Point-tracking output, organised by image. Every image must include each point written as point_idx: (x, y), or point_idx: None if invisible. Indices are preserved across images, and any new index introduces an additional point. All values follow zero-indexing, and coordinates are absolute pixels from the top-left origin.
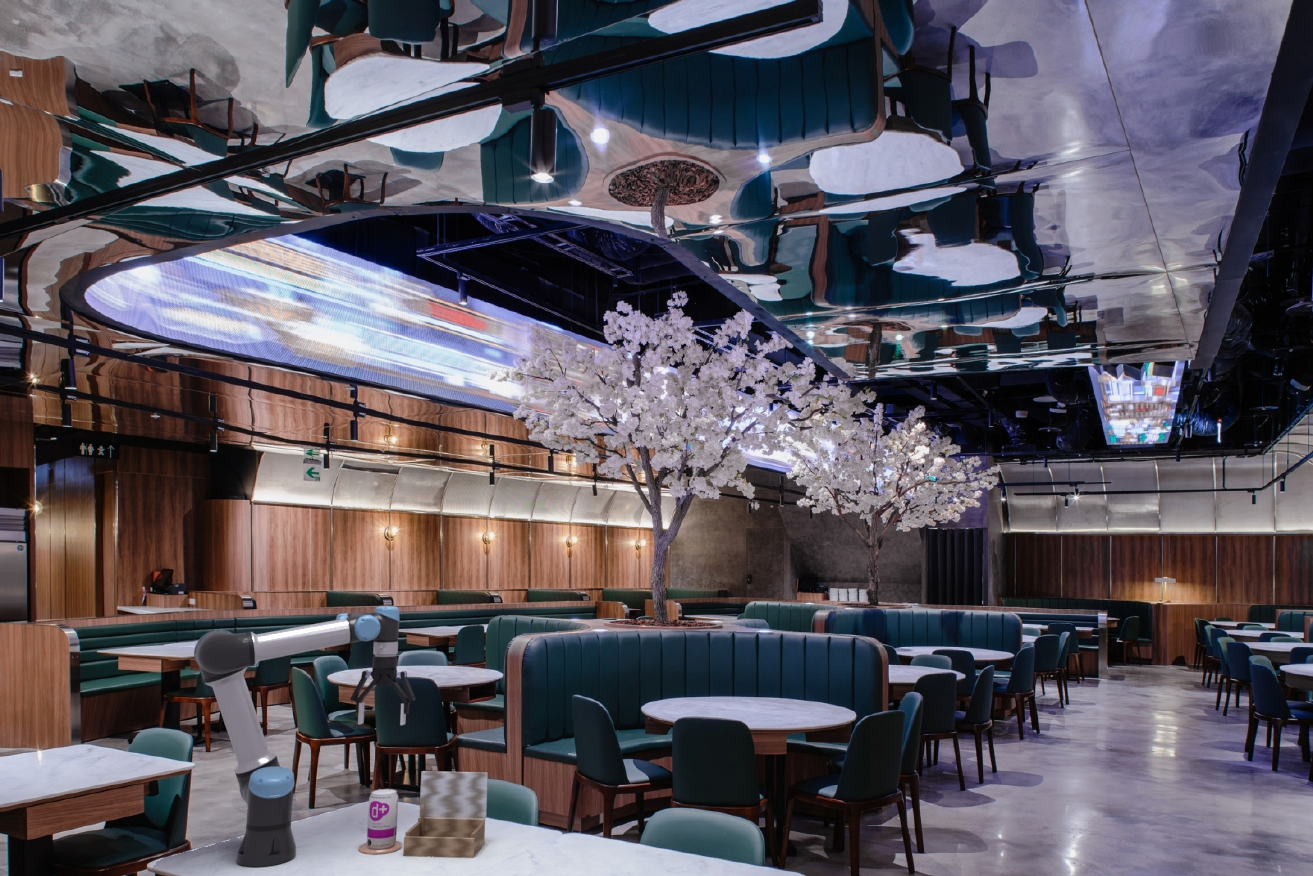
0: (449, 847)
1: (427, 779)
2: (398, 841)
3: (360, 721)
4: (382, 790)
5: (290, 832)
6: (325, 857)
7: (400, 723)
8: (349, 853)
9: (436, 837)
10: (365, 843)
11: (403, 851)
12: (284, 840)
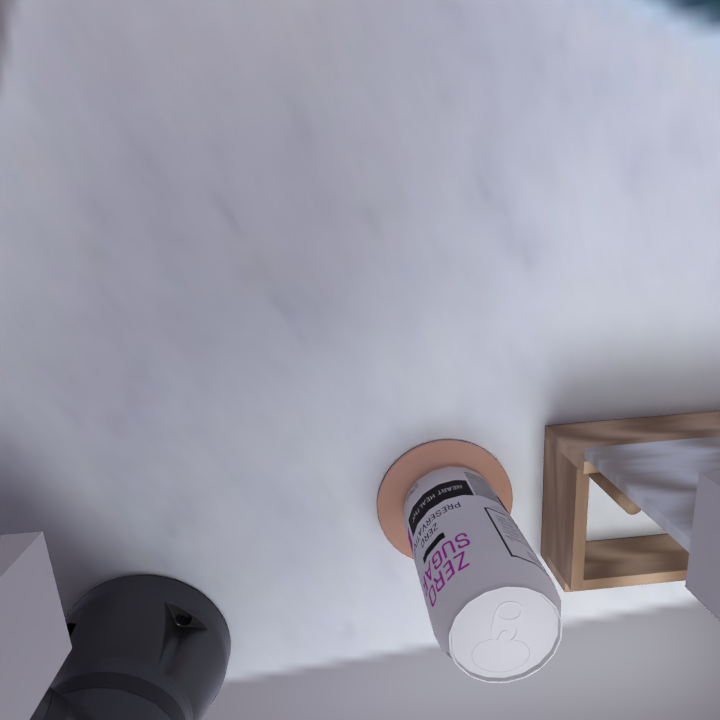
0: None
1: None
2: (487, 453)
3: (48, 685)
4: (483, 605)
5: (194, 695)
6: (315, 603)
7: (707, 606)
8: (369, 560)
9: (671, 577)
10: (385, 490)
11: (546, 563)
12: (202, 713)
